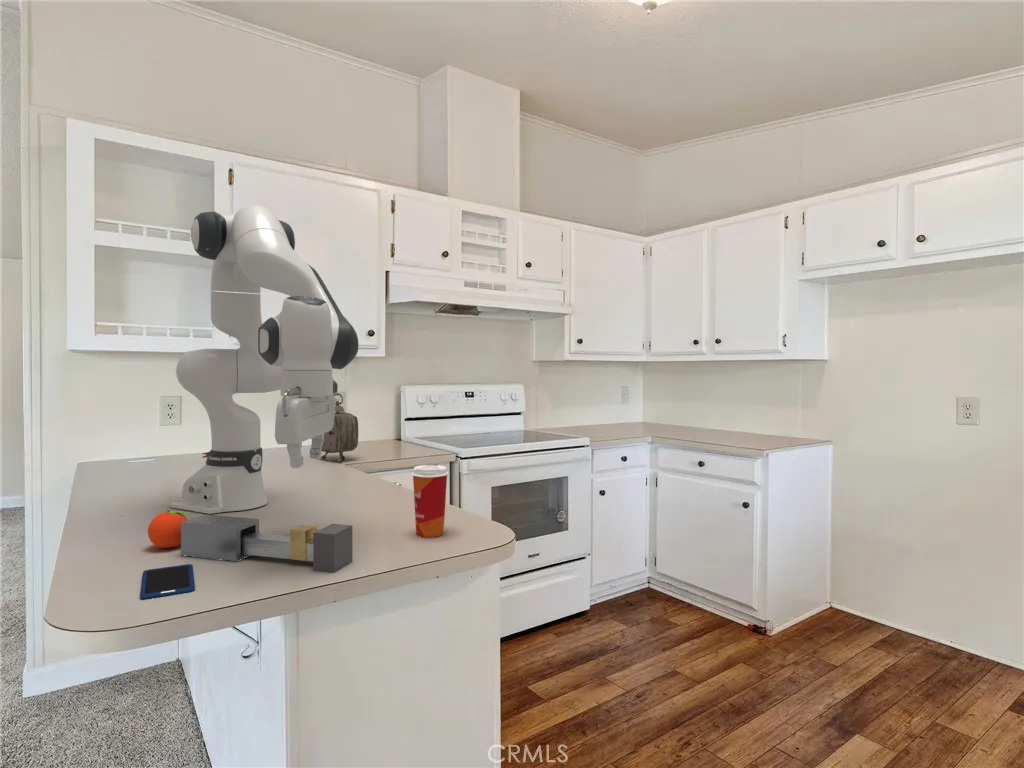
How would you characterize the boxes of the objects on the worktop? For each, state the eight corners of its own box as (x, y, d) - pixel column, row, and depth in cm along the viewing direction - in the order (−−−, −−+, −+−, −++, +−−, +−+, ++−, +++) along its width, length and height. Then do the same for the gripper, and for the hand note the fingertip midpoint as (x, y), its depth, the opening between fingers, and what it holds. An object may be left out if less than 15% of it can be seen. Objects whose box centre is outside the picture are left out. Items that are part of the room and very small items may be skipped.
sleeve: (181, 555, 108) (180, 522, 108) (205, 546, 114) (205, 514, 114) (236, 561, 105) (236, 527, 105) (259, 551, 111) (259, 519, 111)
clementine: (196, 539, 119) (195, 504, 118) (195, 549, 112) (195, 512, 112) (149, 544, 115) (149, 508, 115) (146, 555, 109) (145, 516, 109)
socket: (313, 570, 101) (313, 532, 101) (332, 559, 107) (332, 523, 107) (334, 572, 100) (334, 534, 100) (352, 561, 106) (352, 525, 106)
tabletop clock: (316, 460, 220) (316, 392, 219) (338, 457, 227) (338, 392, 226) (338, 464, 211) (338, 394, 210) (360, 461, 217) (360, 393, 217)
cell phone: (139, 603, 88) (139, 598, 88) (142, 574, 100) (142, 569, 100) (195, 594, 91) (195, 589, 91) (192, 567, 103) (192, 563, 103)
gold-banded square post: (232, 553, 107) (232, 524, 107) (245, 548, 110) (245, 520, 110) (325, 563, 102) (325, 532, 102) (336, 557, 105) (336, 527, 105)
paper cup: (415, 528, 128) (415, 464, 127) (450, 529, 127) (450, 464, 127) (407, 539, 120) (407, 470, 119) (445, 539, 120) (445, 471, 119)
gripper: (303, 389, 96) (303, 473, 97) (340, 384, 117) (340, 453, 117) (264, 388, 96) (264, 473, 97) (309, 383, 117) (308, 453, 117)
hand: (306, 462), depth 107 cm, fingers open, 8 cm apart
